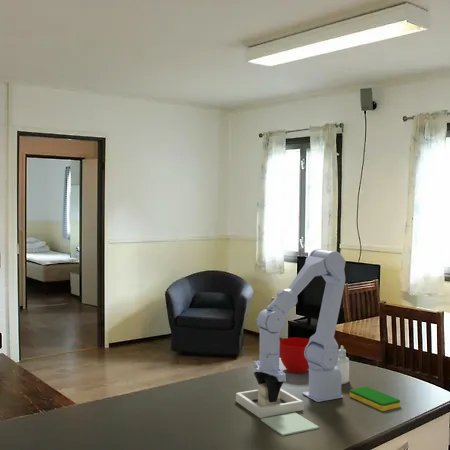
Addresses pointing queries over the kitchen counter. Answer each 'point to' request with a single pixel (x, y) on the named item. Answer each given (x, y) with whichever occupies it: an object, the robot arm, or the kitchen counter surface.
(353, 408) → the kitchen counter surface
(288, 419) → the pad
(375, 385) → the kitchen counter surface
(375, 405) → the dish sponge
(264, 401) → the birch block
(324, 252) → the robot arm
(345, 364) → the eye dropper bottle
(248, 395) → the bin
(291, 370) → the ceramic cup
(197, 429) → the kitchen counter surface
